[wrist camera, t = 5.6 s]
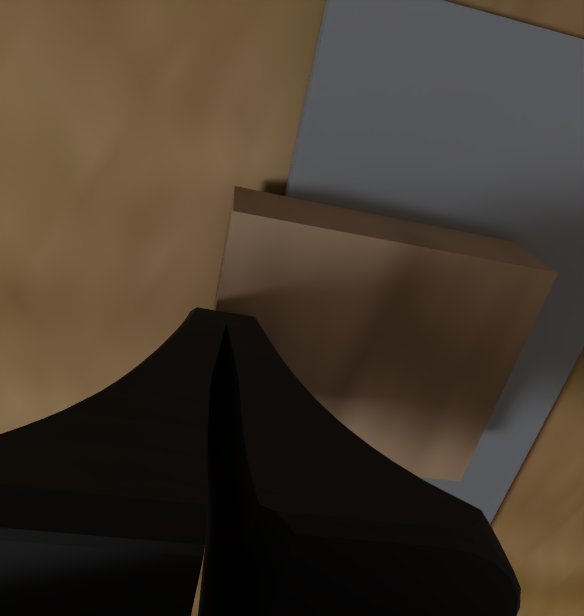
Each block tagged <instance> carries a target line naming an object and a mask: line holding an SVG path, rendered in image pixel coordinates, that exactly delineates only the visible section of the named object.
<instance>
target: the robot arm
mask: <svg viewBox="0 0 584 616" xmlns="http://www.w3.org/2000/svg"><path fill="white" fill-rule="evenodd" d="M204 548H205V552H204ZM203 555H204V562H203V571H202V581H201V591H200V601H199V611H198V616H516V615H517V613H518V611H519V608H520V593H521V588H520V585H519V583H518V580H517V578H516V575H515V573H514V571H513V569H512V567H511V565H510V563H509V561H508V559H507V557H506V555H505V553H504V551H503V549H502V547H501V545H500V543H499V541H498V539H497V537H496V535H495V533H494V531H493V529H492V528H491V526H490V524H489V522H488V520H487V519H486V517H485V515H484V514H483V512H482V510H480V509H478V508H476V507H474V506H473V505H471V504H469V503H467V502H465V501H463V500H461V499H459V498H457V497H455V496H453V495H451V494H449V493H447V492H445V491H444V490H442V489H440V488H438V487H436V486H434V485H432V484H430V483H428V482H426V481H425V480H423V479H421V478H419V477H418V476H416V475H414V474H413V473H411V472H410V471H408V470H406V469H405V468H403V467H402V466H400V465H398V464H397V463H395V462H393V461H392V460H390V459H389V458H388V457H386V456H385V455H383V454H382V453H380V452H379V451H377V450H376V449H374V448H373V447H372V446H370V445H369V444H368V443H366V442H365V441H364V440H362V439H361V438H360V437H359V436H357V435H356V434H355V433H353V432H352V431H351V430H349V429H348V428H347V427H346V426H345V425H343V424H342V423H341V422H340V421H339V420H338V419H336V418H335V417H334V416H333V415H332V414H331V413H330V412H329V411H328V410H327V409H326V408H325V407H324V406H323V405H322V404H321V403H319V402H318V401H317V400H316V399H315V397H314V396H313V395H312V394H311V393H310V392H309V391H308V390H307V389H306V388H305V387H304V385H303V384H302V383H301V382H300V381H299V380H298V378H297V377H296V376H295V375H294V374H293V372H292V371H291V370H290V369H289V367H288V366H287V365H286V363H285V362H284V361H283V359H282V358H281V356H280V355H279V354H278V352H277V351H276V349H275V348H274V346H273V345H272V343H271V341H270V340H269V338H268V337H267V335H266V334H265V332H264V330H263V329H262V327H261V325H260V324H259V322H258V321H257V319H256V318H255V317H253V316H247V315H241V314H234V313H228V312H222V311H215V310H209V309H203V308H195V309H194V310H192V311H190V313H189V315H188V316H187V318H186V319H185V321H184V322H183V323H182V324H181V325H180V327H179V328H178V329H177V330H176V331H175V332H174V333H173V334H172V335H171V336H170V337H169V338H168V339H167V340H166V341H165V342H164V343H163V344H162V345H161V346H160V347H159V348H158V349H157V350H156V351H155V352H154V353H153V354H151V355H150V356H149V357H148V358H147V359H145V360H144V361H143V362H142V363H141V364H139V365H138V366H137V367H136V368H134V369H133V370H132V371H130V372H129V373H128V374H126V375H125V376H123V377H122V378H121V379H119V380H118V381H116V382H115V383H113V384H111V385H110V386H108V387H107V388H105V389H104V390H102V391H100V392H99V393H97V394H95V395H93V396H91V397H89V398H87V399H85V400H83V401H81V402H79V403H77V404H75V405H73V406H71V407H69V408H67V409H65V410H63V411H60V412H58V413H56V414H53V415H51V416H48V417H46V418H44V419H41V420H39V421H36V422H33V423H31V424H28V425H25V426H23V427H20V428H17V429H14V430H11V431H8V432H5V433H2V434H0V616H191V612H192V608H193V603H194V598H195V593H196V589H197V584H198V579H199V575H200V570H201V565H202V561H203Z"/></svg>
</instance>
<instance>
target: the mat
mask: <svg viewBox="0 0 584 616" xmlns="http://www.w3.org/2000/svg"><path fill="white" fill-rule="evenodd" d="M284 196H287V197H292V198H297V199H302V200H307V201H312V202H317V203H322V204H327V205H332V206H337V207H342V208H347V209H352V210H357V211H362V212H368V213H373V214H378V215H383V216H388V217H393V218H398V219H403V220H408V221H413V222H418V223H423V224H428V225H433V226H438V227H443V228H448V229H453V230H458V231H463V232H468V233H474V234H479V235H484V236H489V237H494V238H499V239H504V240H509V241H514V242H516V243H518V244H519V245H520V246H522V247H523V248H525V249H526V250H527V251H529V252H530V253H531V254H533V255H534V256H536V257H537V258H538V259H540V260H541V261H543V262H544V263H545V264H547V265H548V266H550V267H551V268H552V269H554V270H555V271H556V272H558V274H557V277H556V279H555V281H554V283H553V285H552V287H551V289H550V291H549V294H548V296H547V298H546V300H545V302H544V304H543V306H542V309H541V311H540V313H539V315H538V317H537V319H536V321H535V323H534V326H533V328H532V330H531V332H530V334H529V336H528V338H527V340H526V343H525V345H524V347H523V349H522V351H521V353H520V355H519V357H518V360H517V362H516V364H515V366H514V368H513V370H512V372H511V374H510V377H509V379H508V381H507V383H506V385H505V387H504V389H503V391H502V394H501V396H500V398H499V400H498V402H497V404H496V406H495V408H494V411H493V413H492V415H491V417H490V419H489V421H488V423H487V425H486V428H485V430H484V432H483V434H482V436H481V438H480V440H479V442H478V445H477V447H476V449H475V451H474V453H473V455H472V457H471V460H470V462H469V464H468V466H467V468H466V470H465V472H464V474H463V477H462V479H461V481H460V482H459V481H450V480H441V479H432V478H423V477H419V478H421V479H423V480H425V481H426V482H428V483H430V484H432V485H434V486H436V487H438V488H440V489H442V490H444V491H445V492H447V493H449V494H451V495H453V496H455V497H457V498H459V499H461V500H463V501H465V502H467V503H469V504H471V505H473V506H474V507H476V508H478V509H480V510H482V512H483V514H484V515H485V517H486V519H487V520H488V522H489V524H491V522H492V520H493V518H494V516H495V514H496V512H497V510H498V509H499V507H500V505H501V503H502V501H503V499H504V497H505V495H506V493H507V492H508V490H509V488H510V486H511V484H512V482H513V480H514V478H515V476H516V475H517V473H518V471H519V469H520V467H521V465H522V463H523V461H524V459H525V458H526V456H527V454H528V452H529V450H530V448H531V446H532V444H533V442H534V441H535V439H536V437H537V435H538V433H539V431H540V429H541V427H542V425H543V424H544V422H545V420H546V418H547V416H548V414H549V412H550V410H551V408H552V407H553V405H554V403H555V401H556V399H557V397H558V395H559V393H560V391H561V390H562V388H563V386H564V384H565V382H566V380H567V378H568V376H569V374H570V373H571V371H572V369H573V367H574V365H575V363H576V361H577V359H578V357H579V355H580V354H581V352H582V350H583V348H584V39H581V38H577V37H573V36H570V35H566V34H563V33H559V32H555V31H552V30H548V29H545V28H541V27H537V26H534V25H530V24H527V23H523V22H519V21H516V20H512V19H509V18H505V17H501V16H498V15H494V14H491V13H487V12H483V11H480V10H476V9H473V8H469V7H465V6H462V5H458V4H455V3H451V2H447V1H444V0H326V5H325V9H324V14H323V19H322V23H321V28H320V32H319V37H318V42H317V46H316V51H315V56H314V60H313V65H312V70H311V74H310V79H309V83H308V88H307V93H306V97H305V102H304V107H303V111H302V116H301V120H300V125H299V130H298V134H297V139H296V144H295V148H294V153H293V157H292V162H291V167H290V171H289V176H288V181H287V185H286V190H285V195H284Z"/></svg>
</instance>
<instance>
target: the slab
mask: <svg viewBox="0 0 584 616" xmlns="http://www.w3.org/2000/svg"><path fill="white" fill-rule="evenodd" d="M557 274H558V272H556V271H555V270H554V269H552V268H551V267H550V266H548V265H547V264H545V263H544V262H543V261H541V260H540V259H538V258H537V257H536V256H534V255H533V254H531V253H530V252H529V251H527V250H526V249H525V248H523V247H522V246H520V245H519V244H518V243H516V242H514V241H509V240H504V239H499V238H494V237H489V236H484V235H479V234H474V233H468V232H463V231H458V230H453V229H448V228H443V227H438V226H433V225H428V224H423V223H418V222H413V221H408V220H403V219H398V218H393V217H388V216H383V215H378V214H373V213H368V212H362V211H357V210H352V209H347V208H342V207H337V206H332V205H327V204H322V203H317V202H312V201H307V200H302V199H297V198H292V197H287V196H282V195H277V194H272V193H267V192H261V191H256V190H251V189H246V188H241V187H236V186H235V188H234V193H233V199H232V205H231V211H230V217H229V222H228V228H227V234H226V240H225V246H224V251H223V257H222V263H221V269H220V275H219V281H218V286H217V292H216V298H215V304H214V310H215V311H222V312H228V313H234V314H241V315H247V316H253V317H255V318H256V319H257V321H258V322H259V324H260V325H261V327H262V329H263V330H264V332H265V334H266V335H267V337H268V338H269V340H270V341H271V343H272V345H273V346H274V348H275V349H276V351H277V352H278V354H279V355H280V356H281V358H282V359H283V361H284V362H285V363H286V365H287V366H288V367H289V369H290V370H291V371H292V372H293V374H294V375H295V376H296V377H297V378H298V380H299V381H300V382H301V383H302V384H303V385H304V387H305V388H306V389H307V390H308V391H309V392H310V393H311V394H312V395H313V396H314V397H315V399H316V400H317V401H318V402H319V403H321V404H322V405H323V406H324V407H325V408H326V409H327V410H328V411H329V412H330V413H331V414H332V415H333V416H334V417H335V418H336V419H338V420H339V421H340V422H341V423H342V424H343V425H345V426H346V427H347V428H348V429H349V430H351V431H352V432H353V433H355V434H356V435H357V436H359V437H360V438H361V439H362V440H364V441H365V442H366V443H368V444H369V445H370V446H372V447H373V448H374V449H376V450H377V451H379V452H380V453H382V454H383V455H385V456H386V457H388V458H389V459H390V460H392V461H393V462H395V463H397V464H398V465H400V466H402V467H403V468H405V469H406V470H408V471H410V472H411V473H413V474H414V475H416V476H418V477H423V478H432V479H441V480H450V481H459V482H460V481H461V479H462V477H463V474H464V472H465V470H466V468H467V466H468V464H469V462H470V460H471V457H472V455H473V453H474V451H475V449H476V447H477V445H478V442H479V440H480V438H481V436H482V434H483V432H484V430H485V428H486V425H487V423H488V421H489V419H490V417H491V415H492V413H493V411H494V408H495V406H496V404H497V402H498V400H499V398H500V396H501V394H502V391H503V389H504V387H505V385H506V383H507V381H508V379H509V377H510V374H511V372H512V370H513V368H514V366H515V364H516V362H517V360H518V357H519V355H520V353H521V351H522V349H523V347H524V345H525V343H526V340H527V338H528V336H529V334H530V332H531V330H532V328H533V326H534V323H535V321H536V319H537V317H538V315H539V313H540V311H541V309H542V306H543V304H544V302H545V300H546V298H547V296H548V294H549V291H550V289H551V287H552V285H553V283H554V281H555V279H556V277H557Z"/></svg>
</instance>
